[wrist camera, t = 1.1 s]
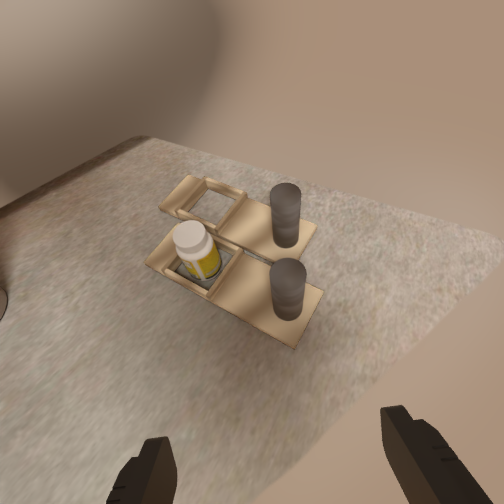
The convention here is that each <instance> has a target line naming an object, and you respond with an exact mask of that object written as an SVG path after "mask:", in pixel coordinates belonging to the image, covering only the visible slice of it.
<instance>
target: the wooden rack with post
mask: <svg viewBox="0 0 504 504" xmlns="http://www.w3.org/2000/svg"><path fill="white" fill-rule="evenodd" d="M179 224H181V223H177V224H176V225H175V226H174V228H173V229H172V230H171V231H170V232H169V233H168V235H167V236H166V237H165V238H164V239H163V240H162V242H161V243H160V244H159V245H158V246H157V247H156V248H155V250H154V251H153V252H152V253H151V254H150V255H149V257H148V258H147V259H146V260H145V261H144V263H145V265H147V266H148V267H150V268H152V269H154V270H155V271H157V272H159V273H161V274H162V275H164V276H166V277H168V278H169V279H171V280H173V281H175V282H177V283H178V284H180V285H182V286H184V287H185V288H187V289H189V290H191V291H192V292H194V293H196V294H198V295H199V296H201V297H203V298H205V299H206V300H208V301H210V302H212V303H213V304H215V305H217V306H219V307H221V308H222V309H224V310H226V311H228V312H229V313H231V314H233V315H235V316H236V317H238V318H240V319H242V320H243V321H245V322H247V323H249V324H250V325H252V326H254V327H256V328H257V329H259V330H261V331H263V332H265V333H266V334H268V335H270V336H272V337H273V338H275V339H277V340H279V341H280V342H282V343H284V344H286V345H287V346H289V347H291V348H293V349H294V350H295V348H296V346H297V344H298V342H299V340H300V338H301V336H302V334H303V332H304V330H305V328H306V326H307V324H308V323H309V321H310V319H311V317H312V315H313V313H314V311H315V309H316V307H317V305H318V303H319V301H320V299H321V297H322V295H323V293H324V291H322V290H320V289H318V288H316V287H314V286H312V285H309V284H307V283H306V275H307V274H306V269H305V267H304V265H303V264H302V263H301V262H300V261H298V260H296V259H294V258H282V259H279V260H277V261H276V262H275V263H274V264H273V265H272V266H269V265H267V264H265V263H263V262H261V261H259V260H257V259H255V258H252V257H250V256H248V255H246V254H244V251H243V249H242V248H240V247H238V246H235V245H233V244H231V243H229V242H227V241H225V240H223V239H220V238H218V237H216V236H214V235H212V234H210V235H211V236H212V238H213V241H214V243H215V245H216V247H217V248H219V249H221V250H224V251H226V252H228V253H230V254H232V255H234V256H233V257H232V258H231V260H230V261H229V263H228V264H227V265H226V267H225V268H224V270H223V271H222V272H221V274H220V275H219V277H218V278H217V279H216V281H215V282H214V284H213V285H212V287H211V288H210V289H209V291H207V290H205V289H203V288H202V287H200V286H198V285H196V284H194V283H193V282H191V281H189V280H187V279H185V278H184V277H182V276H180V275H178V274H176V273H175V270H176V269H177V268H178V266H179V265H180V264H181V263H182V260H181V259H180V257H179V256H178V254H177V252H176V245H175V243H174V241H173V232H174V230H175V228H176V227H177V226H178V225H179Z"/></svg>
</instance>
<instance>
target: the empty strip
mask: <svg viewBox="0 0 504 504" xmlns="http://www.w3.org/2000/svg"><path fill="white" fill-rule="evenodd" d="M207 189H211V190H213V191H216V192H218V193H221V194H223V195H226V196H228V197H231V198H233V199H236V201H235V203H234V204H233V205H232V206H231V208H230V209H229V210H228V211H227V213H226V214H225V215H224V217H223V218H222V219H221V220H220V222H219V223H218V224H217V225H214V224H212V223H210V222H207V221H205V220H203V219H201V218H199V217H196V216H194V215H192V214H190V213H187V212H188V211H189V210H190V209H191V208H192V207H193V205H194V204H195V203H196V202H197V201H198V200H199V198H200V197H201V196H202V195H203V194H204V193H205V191H206V190H207ZM270 203H271V207H270V206H267V205H265V204H262V203H260V202H257V201H255V200H252V199H249V198H247V192H244V191H241V190H239V189H236V188H234V187H231V186H229V185H226V184H223V183H221V182H218V181H216V180H213V179H210V178H208V177H205V176H204V177H203V178H202V180H201V179H199V178H196V177H193V176H191V175H187V176H186V177H185V178H184V179H183V181H182V182H181V183H180V184H179V185H178V186H177V187H176V188H175V189H174V190H173V191H172V192H171V193H170V195H169V196H168V197H167V198H166V199H165V200H164V201H163V202H162V203H161V204H160V205H159V206H158V207H159V209H160V210H161V211H164V212H166V213H168V214H170V215H172V216H174V217H176V218H179V219H181V220H183V221H188V220H195V221H199V222H200V223H202V224H203V226H204V227H205V229H206V231H207V232H209V233H211V234H213V235H215V236H217V237H219V238H221V239H224V240H226V241H228V242H230V243H232V244H234V245H236V246H239V247H241V248H243V249H245V250H247V251H249V252H251V253H254V254H256V255H258V256H260V257H262V258H264V259H266V260H269V261H271V262H273V263H275V262H276V261H277V260H279V259H282V258H294V259H296V260H299V258H300V256H301V255H302V253H303V251H304V250H305V248H306V246H307V244H308V243H309V241H310V239H311V238H312V236H313V234H314V233H315V231H316V229H317V225H316V224H313V223H311V222H308V221H305V220H303V219H300V207H301V191H300V189H299V188H298V187H297V186H296V185H294V184H291V183H281V184H278V185H276V186H275V187H273V188H272V190H271V192H270Z"/></svg>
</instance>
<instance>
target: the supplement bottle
mask: <svg viewBox="0 0 504 504" xmlns="http://www.w3.org/2000/svg"><path fill="white" fill-rule="evenodd" d="M173 241H174V243H175V245H176V252H177V254H178V256H179V257H180V259H181V260H182V262H183V263H184V265H185V267H186V268H187V270H188V271H189V273H190V274H191V276H192V277H193V278H194V279H196V280H198V281H209V280H212V279H214V278H215V277H216V276H217V275H218V274H219V273H220V271H221V268H222V261H221V258H220V255H219V253H218V250H217V248H216V245H215V243H214V241H213V238H212V236H211V235H210V233H209V232H207V231H206V229H205V227H204V226H203V224H202V223H200V222H199V221H195V220H188V221H185V222H182V223H181V224H179V225H178V226H177V227H176V228H175V230H174V232H173Z"/></svg>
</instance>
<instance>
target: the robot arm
mask: <svg viewBox="0 0 504 504" xmlns="http://www.w3.org/2000/svg"><path fill="white" fill-rule="evenodd" d="M6 305H7V296H6V293H5V291H4V290H3V289H2V288H1V287H0V319H1V318H2V316H3V313H4V311H5V308H6ZM380 414H381V427H382V441H383V447H384V451H385V454H386V457H387V459H388V461H389V464H390V466H391V468H392V470H393V472H394V474H395V476H396V478H397V480H398V482H399V484H400V486H401V488H402V489H403V492H404V494H405V496H406V498H407V500H408V502H409V504H493V503H492V501H491V500H490V499H489V497H488V496H487V495H486V493H485V492H484V491H483V489H482V488H481V487H480V485H479V484H478V483H477V482H476V480H475V479H474V478H473V476H472V475H471V474H470V472H469V471H468V470H467V468H466V467H465V466H464V464H463V463H462V462H461V461H460V460H459V459H458V457H457V455H456V454H455V453H454V451H453V450H452V449H451V448H450V447H449V445H448V443H447V442H446V441H445V440H444V438H443V437H442V436H441V434H440V433H439V432H438V430H436V429H435V428H434V427H432V426H431V425H430V424H428V423H427V422H426V421H424V420H423V419H420V420H413V419H412V417H411V416H410V415H409V413H408V412H407V410H406V409H405V407H404V406H402V405H398V406H390V407H383V408H381V409H380ZM176 487H177V467H176V464H175V460H174V456H173V452H172V449H171V445H170V441H169V438H168V437H167V436H165V437H158V438H151V439H147V440H146V441H145V442H144V444H143V447H142V449H141V451H140V454H139V456H138V457H132V458H131V459H130V460H129V461H128V462H127V464H126V465H125V466H124V467H123V468H122V470H121V471H120V472H119V475H118V477H117V479H116V481H115V483H114V485H113V489H112V491H111V492H110V494H109V496H108V499H107V501H106V504H173V500H174V496H175V491H176Z"/></svg>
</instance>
